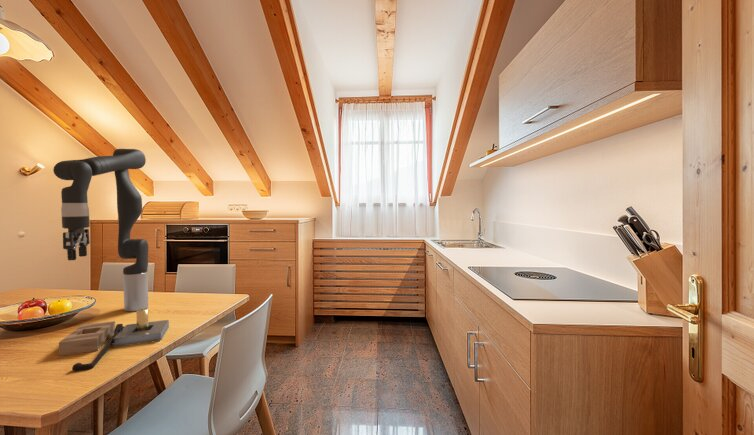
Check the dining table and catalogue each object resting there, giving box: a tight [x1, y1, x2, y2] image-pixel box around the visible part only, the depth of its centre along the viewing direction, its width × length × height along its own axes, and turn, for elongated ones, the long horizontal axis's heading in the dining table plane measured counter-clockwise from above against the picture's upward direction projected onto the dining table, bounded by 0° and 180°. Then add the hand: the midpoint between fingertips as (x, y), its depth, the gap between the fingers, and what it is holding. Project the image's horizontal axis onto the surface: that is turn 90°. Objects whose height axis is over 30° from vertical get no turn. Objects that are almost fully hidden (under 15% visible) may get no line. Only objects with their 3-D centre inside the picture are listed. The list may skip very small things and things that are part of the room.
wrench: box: [71, 323, 125, 372], centre depth 110 cm, size 5×5×30 cm
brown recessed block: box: [58, 320, 116, 357], centre depth 115 cm, size 17×10×4 cm, turn 23°
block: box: [113, 319, 170, 348], centre depth 122 cm, size 14×14×3 cm
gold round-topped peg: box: [135, 308, 150, 332], centre depth 121 cm, size 4×4×10 cm
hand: (77, 258), depth 121 cm, fingers open, 8 cm apart
